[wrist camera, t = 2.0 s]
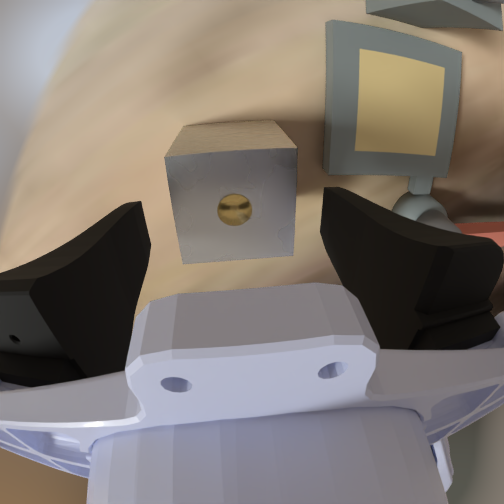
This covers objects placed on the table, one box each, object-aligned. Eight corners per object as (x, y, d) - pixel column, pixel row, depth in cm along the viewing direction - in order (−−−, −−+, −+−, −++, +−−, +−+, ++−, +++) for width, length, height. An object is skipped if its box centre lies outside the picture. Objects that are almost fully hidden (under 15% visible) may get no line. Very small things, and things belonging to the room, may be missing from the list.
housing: (273, 199, 19) (293, 256, 14) (192, 205, 18) (182, 265, 13) (273, 119, 16) (298, 148, 11) (183, 126, 16) (164, 157, 11)
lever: (514, 240, 20) (528, 253, 18) (404, 251, 19) (419, 271, 17) (525, 209, 18) (540, 222, 16) (415, 210, 17) (433, 227, 15)
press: (426, 235, 21) (490, 314, 14) (316, 243, 21) (360, 347, 13) (454, 2, 11) (558, 7, 3) (322, -37, 10) (404, -95, 3)
